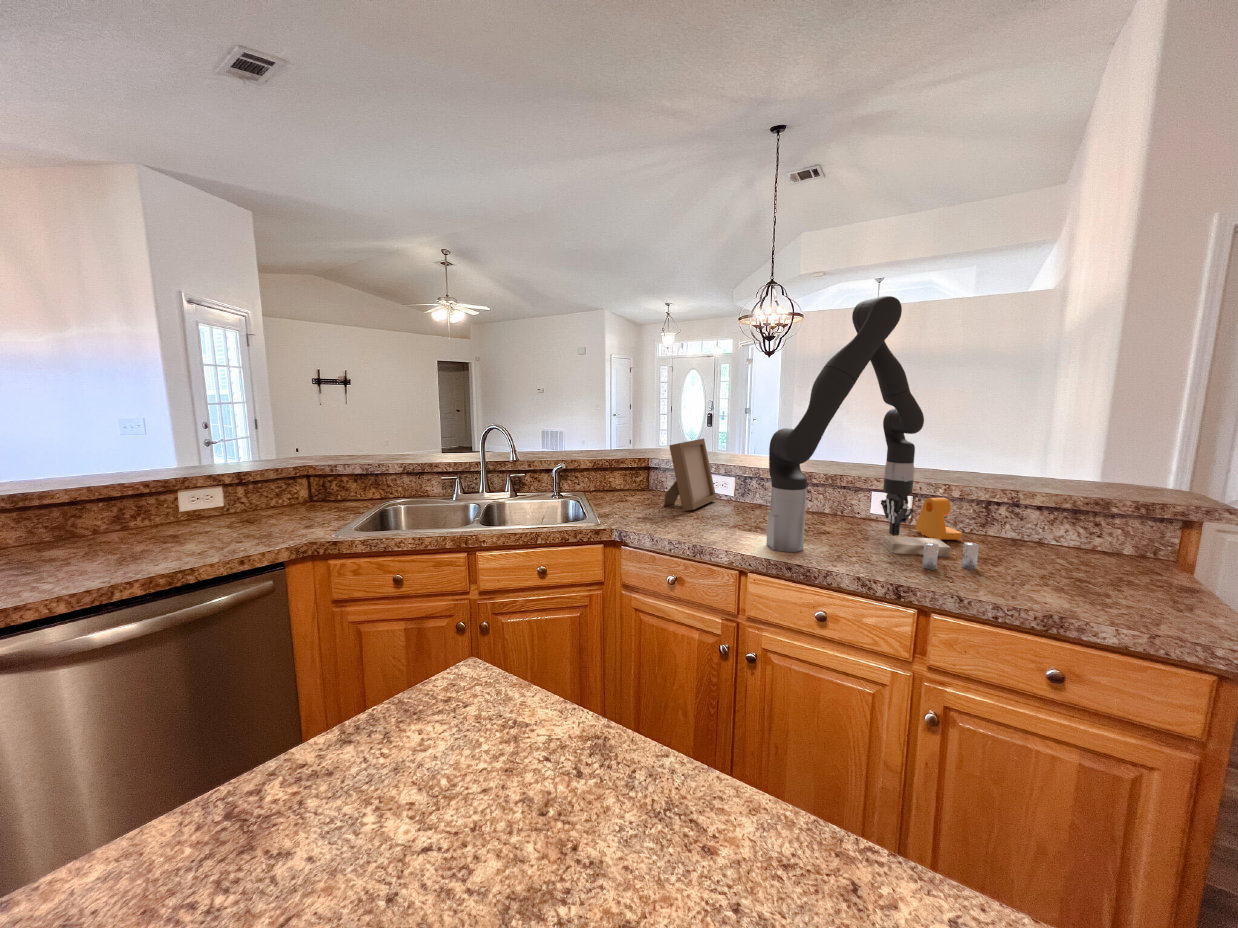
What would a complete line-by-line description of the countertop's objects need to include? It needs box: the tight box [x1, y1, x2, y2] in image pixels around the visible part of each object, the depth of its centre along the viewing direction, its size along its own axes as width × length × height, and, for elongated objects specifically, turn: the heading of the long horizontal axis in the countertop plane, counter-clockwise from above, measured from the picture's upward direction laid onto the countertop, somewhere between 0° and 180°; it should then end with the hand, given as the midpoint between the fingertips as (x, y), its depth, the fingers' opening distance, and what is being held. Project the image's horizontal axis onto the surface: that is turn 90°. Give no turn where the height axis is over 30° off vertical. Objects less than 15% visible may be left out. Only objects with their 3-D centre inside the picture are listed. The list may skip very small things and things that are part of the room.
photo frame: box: [663, 438, 717, 512], centre depth 194 cm, size 15×22×25 cm
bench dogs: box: [921, 541, 980, 571], centre depth 125 cm, size 13×3×6 cm, turn 91°
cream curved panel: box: [883, 535, 951, 558], centre depth 139 cm, size 14×8×3 cm, turn 77°
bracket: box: [915, 497, 963, 540], centre depth 152 cm, size 11×7×12 cm, turn 2°
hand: (894, 534), depth 150 cm, fingers closed
